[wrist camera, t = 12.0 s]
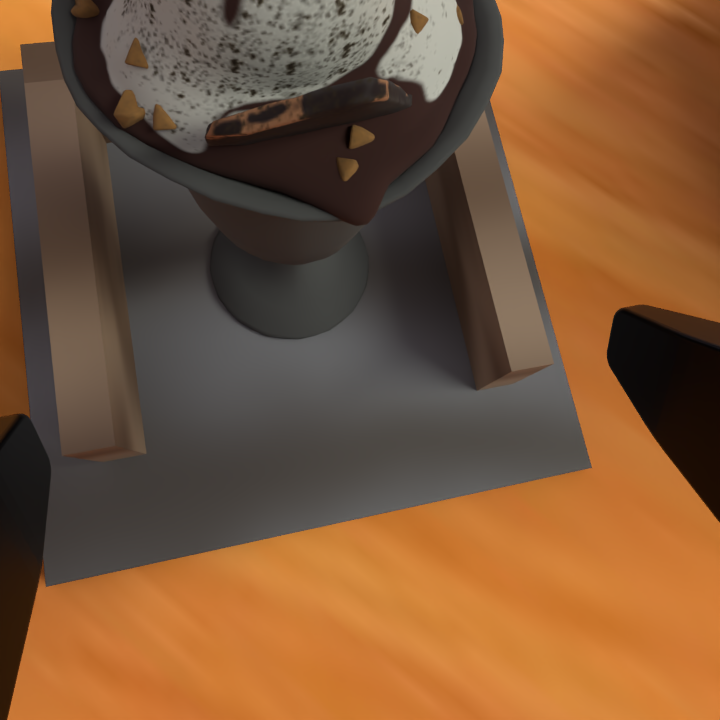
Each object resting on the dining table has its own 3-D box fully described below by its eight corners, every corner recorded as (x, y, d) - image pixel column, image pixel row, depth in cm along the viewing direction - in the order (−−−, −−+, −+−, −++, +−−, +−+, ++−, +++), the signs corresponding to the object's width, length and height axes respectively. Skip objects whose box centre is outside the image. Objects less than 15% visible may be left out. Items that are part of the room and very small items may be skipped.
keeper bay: (582, 468, 19) (648, 463, 15) (54, 583, 16) (-11, 608, 13) (464, 39, 22) (497, -47, 18) (7, 84, 19) (-56, -7, 16)
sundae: (245, 134, 19) (92, -980, 5) (427, 226, 19) (842, -601, 5) (138, 303, 18) (-608, -598, 3) (337, 404, 18) (542, -16, 3)
